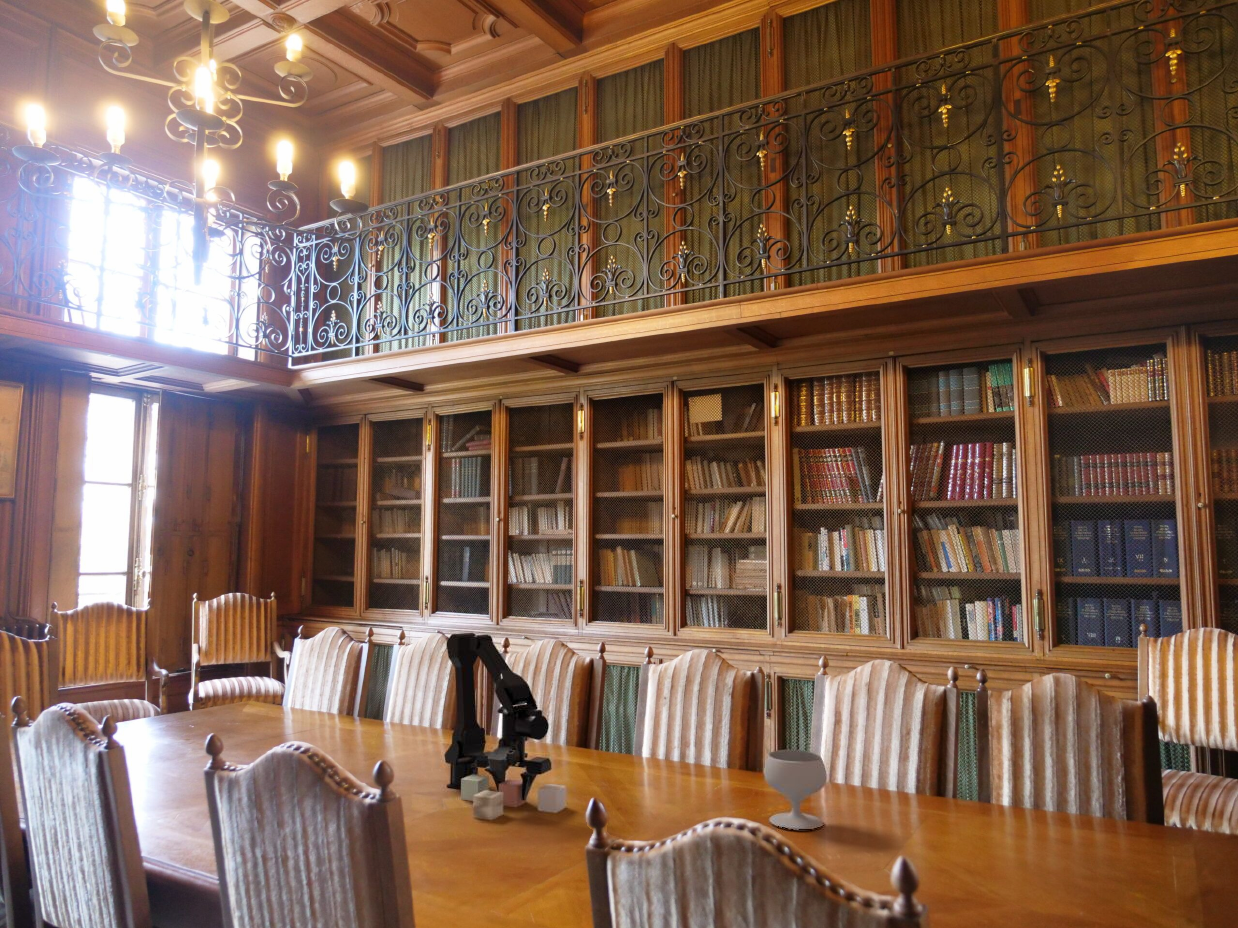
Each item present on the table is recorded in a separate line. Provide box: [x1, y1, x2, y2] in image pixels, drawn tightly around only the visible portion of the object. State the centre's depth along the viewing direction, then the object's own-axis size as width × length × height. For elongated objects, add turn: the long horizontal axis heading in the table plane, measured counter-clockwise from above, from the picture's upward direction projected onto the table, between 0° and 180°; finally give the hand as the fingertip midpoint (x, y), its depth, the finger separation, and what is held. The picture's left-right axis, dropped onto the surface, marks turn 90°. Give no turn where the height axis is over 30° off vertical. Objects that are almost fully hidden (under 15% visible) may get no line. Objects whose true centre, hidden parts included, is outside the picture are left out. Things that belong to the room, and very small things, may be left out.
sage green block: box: [460, 774, 490, 802], centre depth 210 cm, size 5×5×5 cm
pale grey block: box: [537, 783, 567, 814], centre depth 201 cm, size 5×5×5 cm
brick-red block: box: [499, 778, 528, 808], centre depth 206 cm, size 5×5×5 cm
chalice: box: [763, 749, 828, 831], centre depth 191 cm, size 14×14×15 cm
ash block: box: [472, 790, 504, 821], centre depth 196 cm, size 5×5×5 cm
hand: (512, 798), depth 206 cm, fingers open, 6 cm apart
